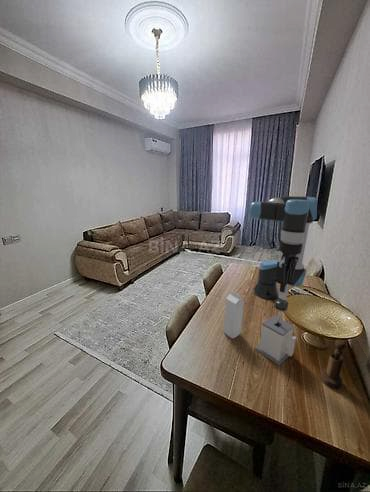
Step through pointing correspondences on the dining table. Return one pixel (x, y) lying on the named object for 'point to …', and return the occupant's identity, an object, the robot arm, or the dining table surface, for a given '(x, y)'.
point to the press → (276, 340)
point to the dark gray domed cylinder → (280, 308)
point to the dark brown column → (334, 367)
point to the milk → (233, 315)
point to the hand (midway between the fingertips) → (282, 298)
